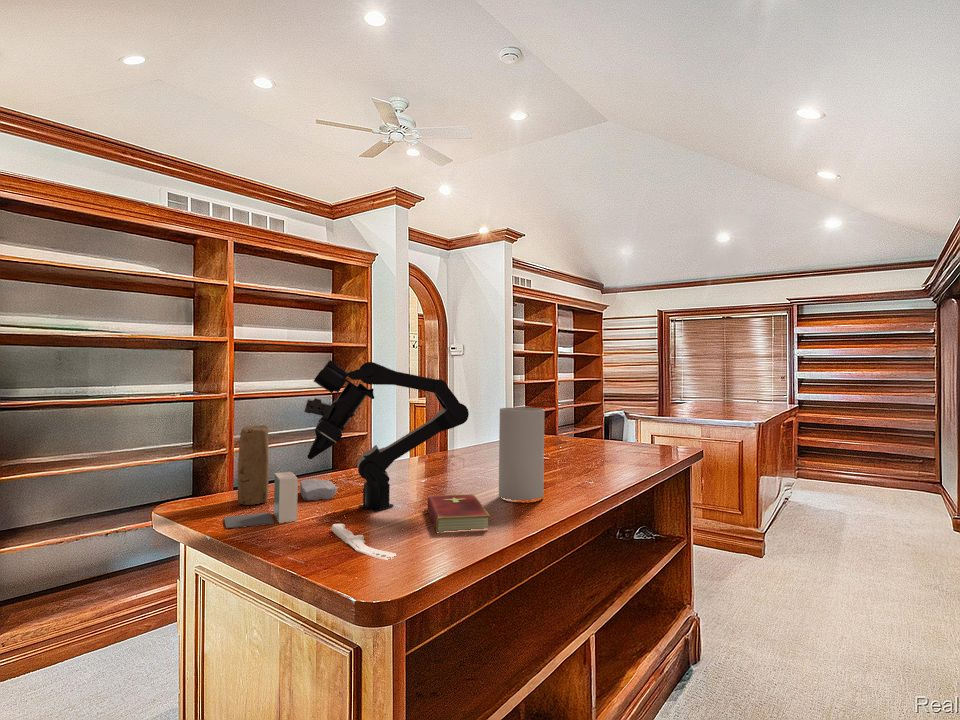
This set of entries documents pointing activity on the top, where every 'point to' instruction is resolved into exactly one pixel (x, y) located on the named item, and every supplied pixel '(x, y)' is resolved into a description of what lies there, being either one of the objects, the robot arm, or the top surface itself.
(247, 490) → the block
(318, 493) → the stone block
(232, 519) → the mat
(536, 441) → the cylinder vase
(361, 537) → the knife
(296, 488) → the off-white thick block
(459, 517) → the hardcover book
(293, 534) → the top surface
